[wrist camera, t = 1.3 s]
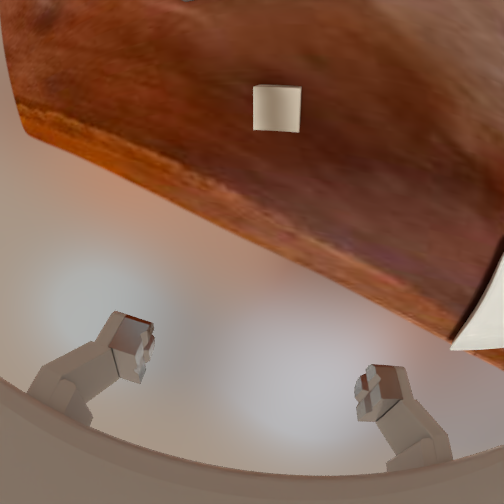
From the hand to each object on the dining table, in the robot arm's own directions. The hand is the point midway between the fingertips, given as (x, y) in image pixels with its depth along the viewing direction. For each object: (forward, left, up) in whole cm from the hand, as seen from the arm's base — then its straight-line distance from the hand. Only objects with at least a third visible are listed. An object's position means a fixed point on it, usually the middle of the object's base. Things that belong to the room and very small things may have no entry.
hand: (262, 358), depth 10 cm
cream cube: (+3, -4, -31) cm, 32 cm away
